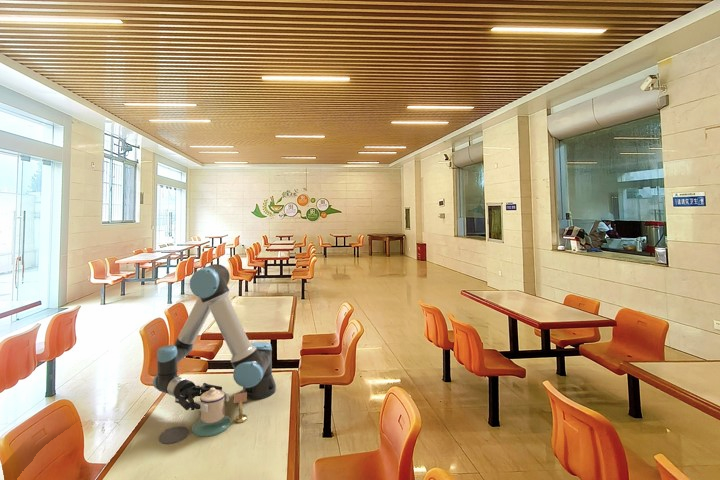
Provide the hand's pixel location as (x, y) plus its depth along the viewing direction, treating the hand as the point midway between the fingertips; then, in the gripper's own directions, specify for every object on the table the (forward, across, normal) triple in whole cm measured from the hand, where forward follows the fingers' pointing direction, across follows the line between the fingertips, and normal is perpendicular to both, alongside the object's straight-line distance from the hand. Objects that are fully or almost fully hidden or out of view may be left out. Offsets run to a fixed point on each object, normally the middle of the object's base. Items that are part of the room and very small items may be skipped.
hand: (217, 403), depth 140 cm
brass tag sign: (+2, -9, -10) cm, 14 cm away
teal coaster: (-4, 0, -11) cm, 12 cm away
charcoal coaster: (-11, +11, -11) cm, 19 cm away
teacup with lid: (-4, 0, -7) cm, 8 cm away
